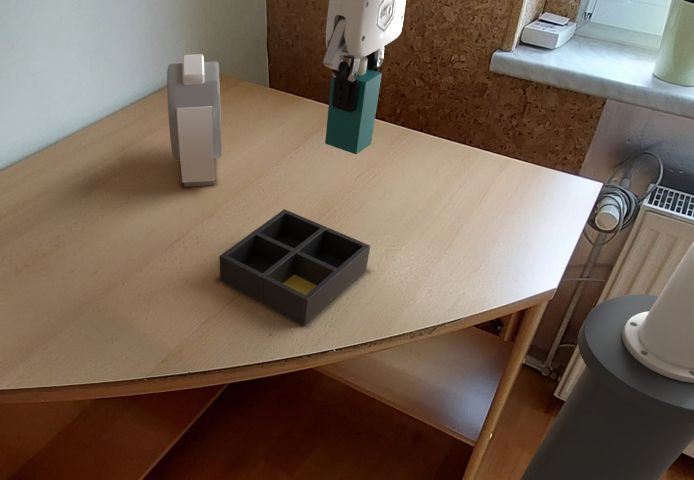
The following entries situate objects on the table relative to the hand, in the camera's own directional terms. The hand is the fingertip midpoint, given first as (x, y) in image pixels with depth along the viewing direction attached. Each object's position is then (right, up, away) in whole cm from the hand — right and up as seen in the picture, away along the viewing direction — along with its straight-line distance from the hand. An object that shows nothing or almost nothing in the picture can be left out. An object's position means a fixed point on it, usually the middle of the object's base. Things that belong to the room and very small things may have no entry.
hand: (353, 101), depth 80 cm
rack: (-6, -21, +12) cm, 25 cm away
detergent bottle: (0, -4, +4) cm, 6 cm away
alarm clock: (-20, +1, +35) cm, 41 cm away
